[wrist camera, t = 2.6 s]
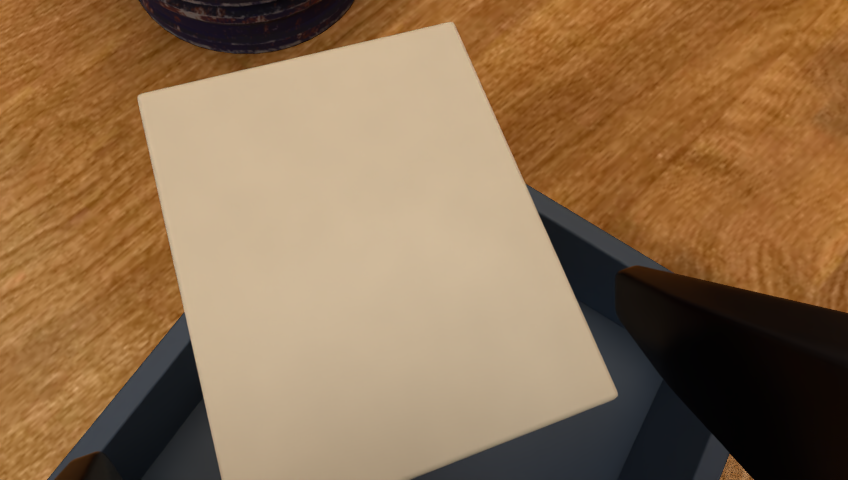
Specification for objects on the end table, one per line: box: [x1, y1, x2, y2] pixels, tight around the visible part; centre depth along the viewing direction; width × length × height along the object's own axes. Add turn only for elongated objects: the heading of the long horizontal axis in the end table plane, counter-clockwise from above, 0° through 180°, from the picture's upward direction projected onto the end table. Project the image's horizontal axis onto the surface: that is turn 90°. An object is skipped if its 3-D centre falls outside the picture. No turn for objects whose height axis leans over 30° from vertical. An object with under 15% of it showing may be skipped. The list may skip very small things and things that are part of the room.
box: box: [47, 184, 730, 480], centre depth 15 cm, size 13×13×4 cm
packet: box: [138, 22, 618, 480], centre depth 12 cm, size 5×4×12 cm
